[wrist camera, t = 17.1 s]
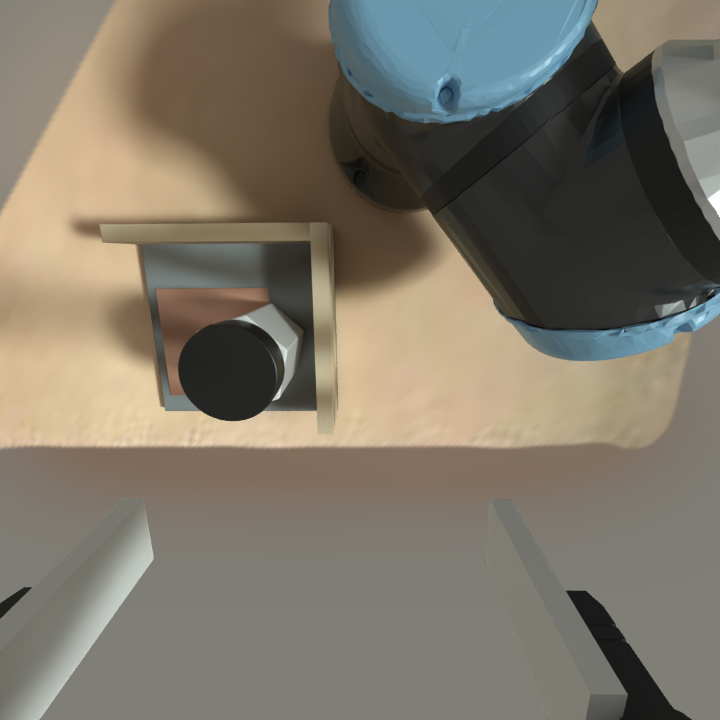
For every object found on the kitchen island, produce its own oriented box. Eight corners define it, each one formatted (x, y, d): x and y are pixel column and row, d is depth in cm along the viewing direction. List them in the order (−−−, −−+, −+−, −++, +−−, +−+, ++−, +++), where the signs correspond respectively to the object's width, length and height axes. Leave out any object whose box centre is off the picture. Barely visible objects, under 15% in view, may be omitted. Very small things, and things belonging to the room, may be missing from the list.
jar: (233, 294, 41) (180, 309, 29) (309, 310, 41) (286, 331, 29) (224, 373, 43) (171, 416, 31) (295, 388, 43) (269, 435, 32)
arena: (144, 230, 40) (99, 224, 34) (333, 228, 40) (327, 222, 33) (169, 407, 45) (135, 433, 39) (338, 407, 45) (332, 433, 38)
